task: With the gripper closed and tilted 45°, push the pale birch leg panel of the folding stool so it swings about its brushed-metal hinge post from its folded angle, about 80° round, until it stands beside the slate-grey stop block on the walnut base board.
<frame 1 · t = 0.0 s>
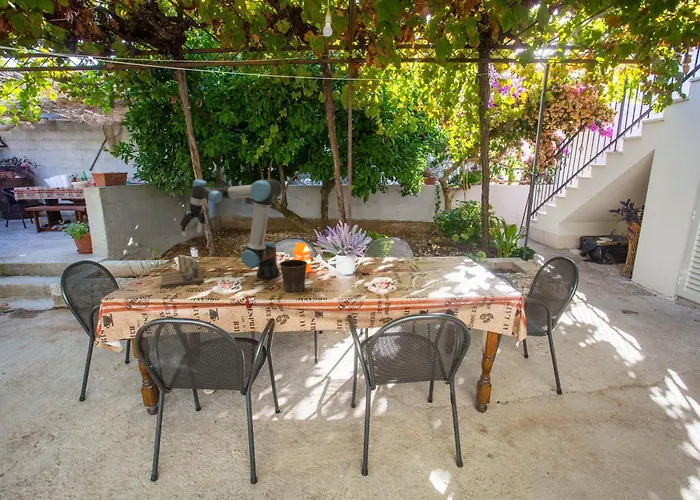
hand: (191, 233, 242), 28 cm above the table, tool tilted 20°, fingers open, 13 cm apart
leg panel: (186, 265, 241), point 8 cm above the table, hinge at 0.0°
plant pot: (294, 289, 219), on the table
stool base: (183, 279, 238), on the table
orange juice: (302, 271, 255), on the table
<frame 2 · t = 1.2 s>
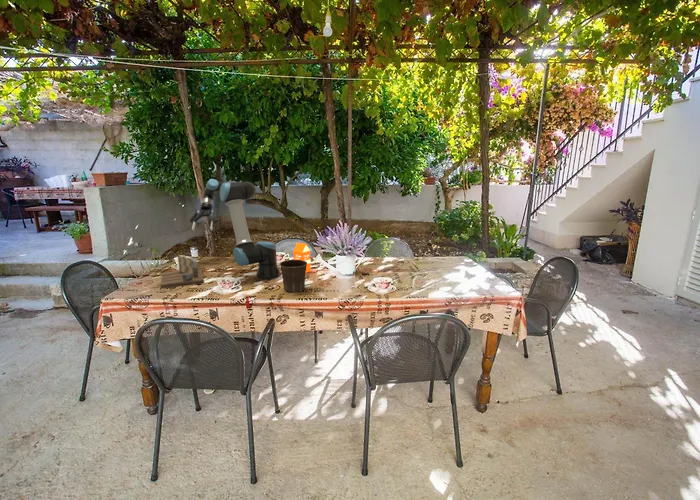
hand: (202, 230, 256), 28 cm above the table, tool tilted 45°, fingers open, 12 cm apart
nothing on the table moved.
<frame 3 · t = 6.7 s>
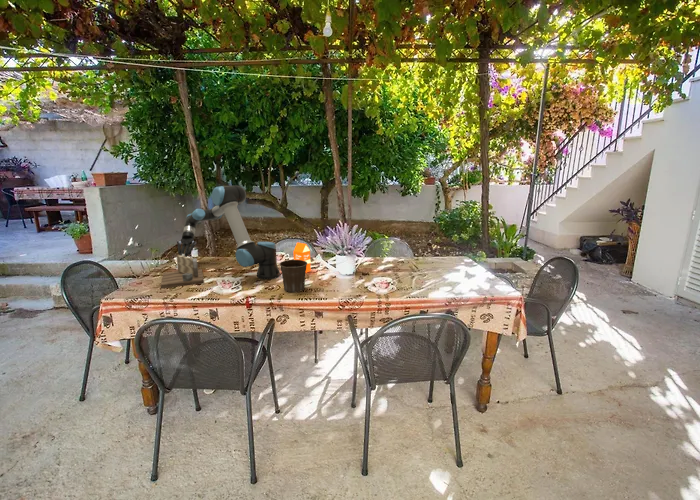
hand: (182, 263, 248), 8 cm above the table, tool tilted 45°, fingers closed
leg panel: (186, 265, 241), point 8 cm above the table, hinge at 2.7°, touching gripper
everything else where it was.
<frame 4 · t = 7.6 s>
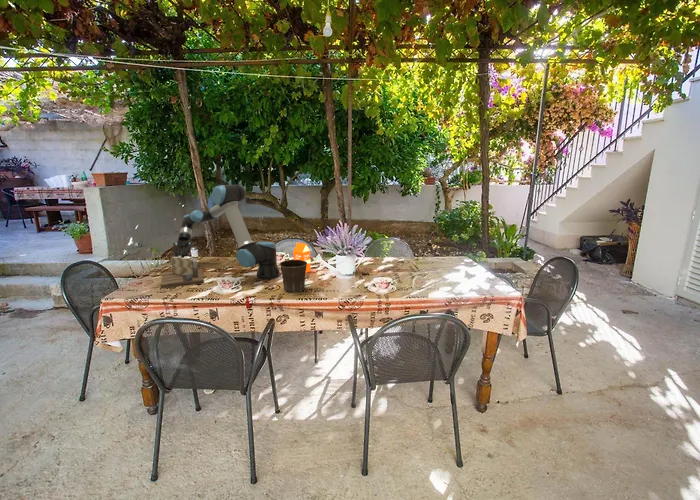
hand: (178, 265, 243), 7 cm above the table, tool tilted 45°, fingers closed
leg panel: (183, 266, 239), point 8 cm above the table, hinge at 17.3°, touching gripper
everything else where it was.
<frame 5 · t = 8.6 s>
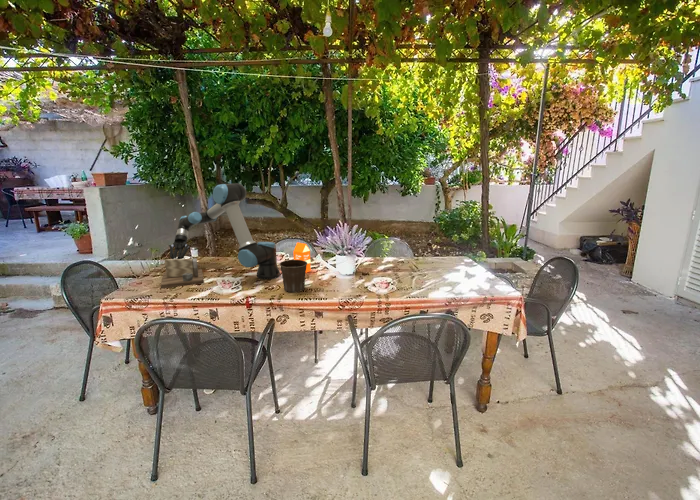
hand: (174, 267, 237), 7 cm above the table, tool tilted 45°, fingers closed
leg panel: (179, 267, 235), point 8 cm above the table, hinge at 38.8°, touching gripper
everything else where it was.
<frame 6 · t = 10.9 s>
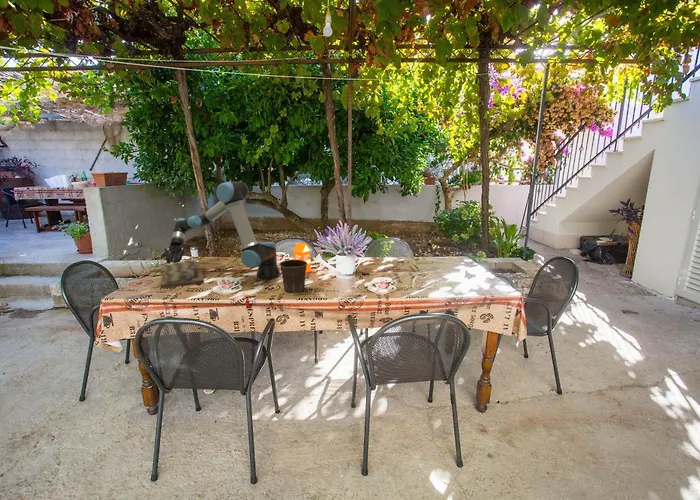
hand: (170, 272, 227), 8 cm above the table, tool tilted 45°, fingers closed
leg panel: (179, 270, 229), point 8 cm above the table, hinge at 82.7°, touching gripper, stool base
everything else where it was.
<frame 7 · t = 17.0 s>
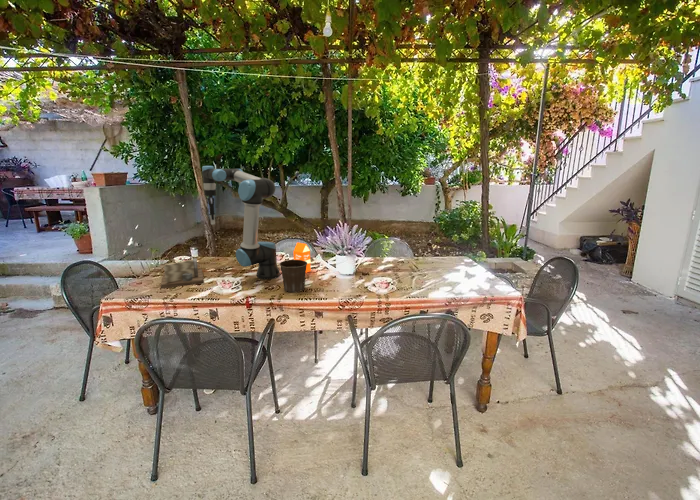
hand: (213, 224, 251), 32 cm above the table, tool pointing down, fingers closed
leg panel: (179, 270, 229), point 8 cm above the table, hinge at 82.6°, touching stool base
everything else where it was.
at the end: leg panel at +83° (first picture: +0°) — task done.
